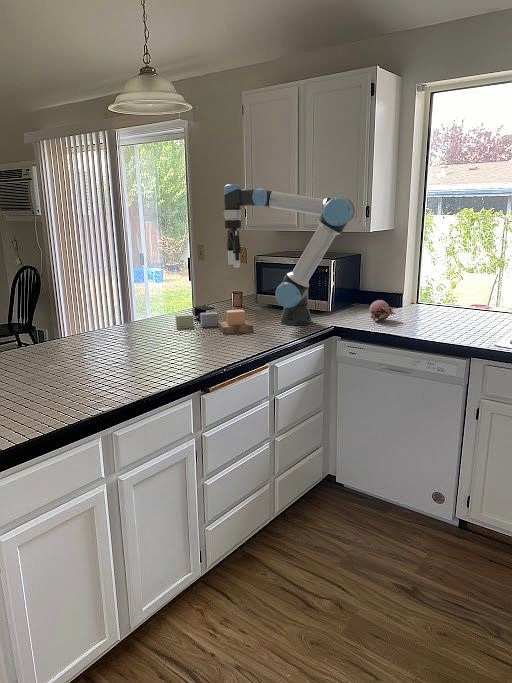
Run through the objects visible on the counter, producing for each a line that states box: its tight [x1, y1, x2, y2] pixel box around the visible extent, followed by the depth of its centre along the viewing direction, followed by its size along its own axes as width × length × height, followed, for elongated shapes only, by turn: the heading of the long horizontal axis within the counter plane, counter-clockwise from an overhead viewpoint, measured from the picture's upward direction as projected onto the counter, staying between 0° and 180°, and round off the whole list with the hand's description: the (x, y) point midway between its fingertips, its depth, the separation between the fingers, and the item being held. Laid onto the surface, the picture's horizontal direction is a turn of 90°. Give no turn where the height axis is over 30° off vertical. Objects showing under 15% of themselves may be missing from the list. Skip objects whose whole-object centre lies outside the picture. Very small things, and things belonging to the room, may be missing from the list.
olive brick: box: [174, 313, 195, 330], centre depth 251 cm, size 8×5×6 cm, turn 104°
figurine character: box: [191, 305, 215, 320], centre depth 266 cm, size 7×8×15 cm
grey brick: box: [199, 311, 219, 328], centre depth 254 cm, size 8×5×6 cm, turn 104°
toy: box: [368, 299, 396, 323], centre depth 254 cm, size 12×11×15 cm
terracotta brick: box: [225, 308, 246, 325], centre depth 242 cm, size 8×5×6 cm, turn 104°
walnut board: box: [217, 319, 254, 335], centre depth 243 cm, size 14×12×3 cm
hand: (234, 266), depth 246 cm, fingers open, 13 cm apart
